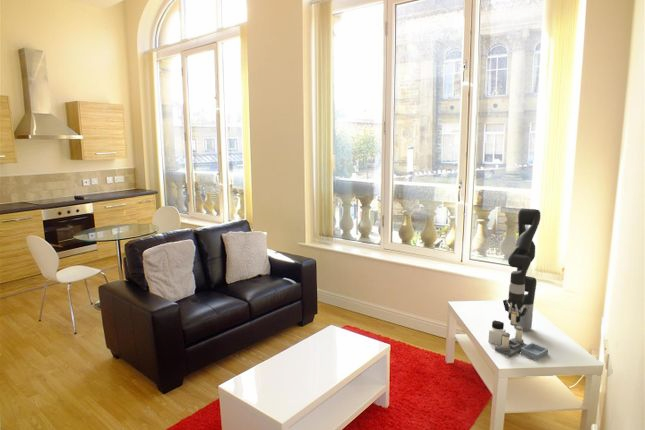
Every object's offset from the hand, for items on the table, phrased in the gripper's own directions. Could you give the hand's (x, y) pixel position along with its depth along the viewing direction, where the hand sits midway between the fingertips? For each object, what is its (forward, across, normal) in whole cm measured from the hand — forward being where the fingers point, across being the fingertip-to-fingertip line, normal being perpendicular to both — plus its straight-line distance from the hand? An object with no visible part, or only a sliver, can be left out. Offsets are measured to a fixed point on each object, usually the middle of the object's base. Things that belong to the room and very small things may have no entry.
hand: (514, 320), depth 223 cm
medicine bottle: (+17, +10, -1) cm, 20 cm away
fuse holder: (+17, 0, 0) cm, 17 cm away
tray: (+17, -10, -5) cm, 20 cm away
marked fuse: (+2, 0, 0) cm, 2 cm away
